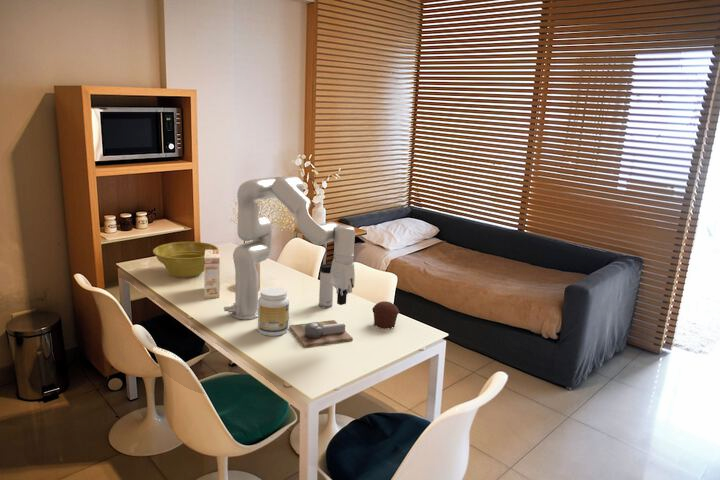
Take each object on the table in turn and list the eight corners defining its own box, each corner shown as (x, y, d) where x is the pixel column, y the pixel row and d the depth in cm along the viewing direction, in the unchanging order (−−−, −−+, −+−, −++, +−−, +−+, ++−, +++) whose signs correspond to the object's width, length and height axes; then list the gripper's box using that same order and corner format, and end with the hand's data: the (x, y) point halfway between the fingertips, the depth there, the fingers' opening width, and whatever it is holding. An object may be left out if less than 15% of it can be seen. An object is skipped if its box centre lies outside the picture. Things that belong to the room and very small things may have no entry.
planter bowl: (181, 288, 254) (180, 261, 251) (140, 274, 271) (139, 248, 268) (231, 273, 281) (231, 249, 278) (190, 261, 298) (190, 238, 294)
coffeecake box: (219, 298, 245) (219, 257, 240) (203, 298, 243) (203, 257, 239) (220, 287, 259) (220, 249, 254) (205, 287, 257) (204, 249, 253)
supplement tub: (292, 334, 211) (294, 294, 207) (263, 339, 205) (264, 298, 201) (281, 323, 221) (282, 284, 217) (253, 327, 215) (254, 288, 211)
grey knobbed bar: (308, 339, 203) (308, 329, 202) (302, 332, 209) (302, 322, 208) (347, 334, 210) (347, 324, 209) (340, 327, 216) (341, 317, 215)
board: (304, 347, 200) (304, 344, 200) (289, 328, 216) (289, 325, 216) (352, 340, 208) (352, 337, 208) (334, 322, 225) (334, 319, 225)
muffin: (365, 324, 226) (367, 302, 223) (381, 317, 234) (383, 296, 232) (387, 332, 218) (389, 310, 216) (403, 325, 227) (405, 303, 224)
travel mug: (331, 309, 240) (333, 267, 235) (317, 307, 241) (319, 265, 237) (334, 304, 246) (336, 263, 241) (320, 302, 247) (322, 261, 243)
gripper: (324, 254, 202) (322, 300, 207) (348, 264, 191) (346, 311, 196) (339, 252, 207) (337, 296, 211) (364, 261, 196) (361, 308, 200)
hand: (341, 303), depth 203 cm, fingers closed
